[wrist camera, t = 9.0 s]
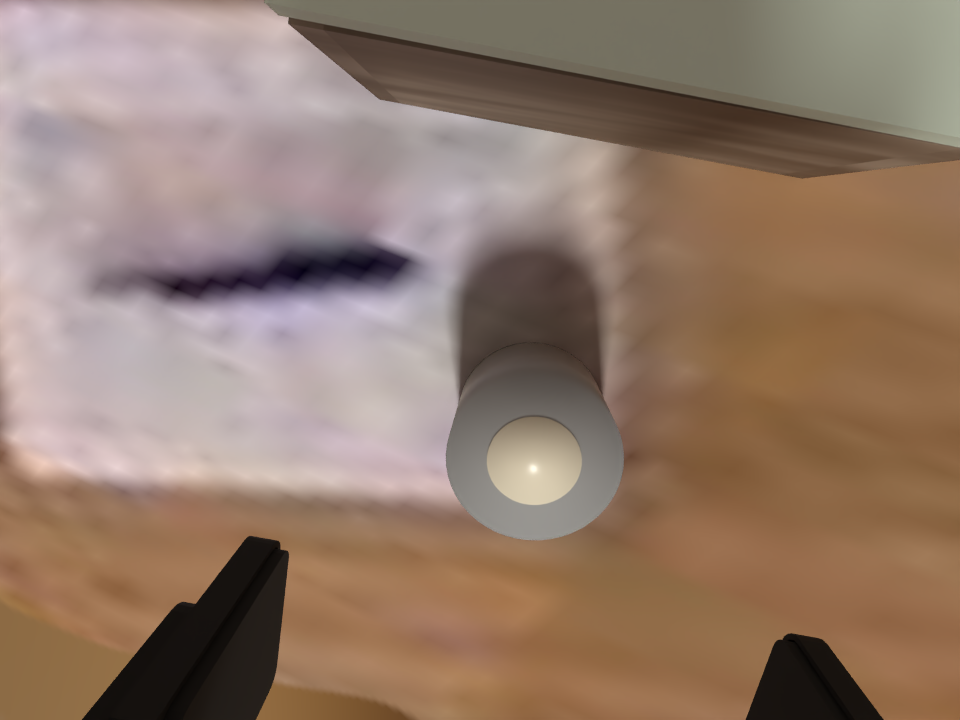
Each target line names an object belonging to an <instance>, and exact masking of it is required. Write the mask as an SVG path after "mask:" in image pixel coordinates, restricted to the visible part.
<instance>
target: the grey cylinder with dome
mask: <svg viewBox="0 0 960 720" xmlns="http://www.w3.org/2000/svg"><path fill="white" fill-rule="evenodd" d="M623 465H624V452H623V444H622V440H621V436H620V433H619V431H618V428H617V426H616V423H615V421H614V419H613V417H612V415H611V413H610V411H609V409H608V407H607V404H606V402H605V400H604V398H603V396H602V394H601V392H600V390H599V388H598V386H597V383H596V381H595V380H594V378H593V376H592V374H591V373H590V372H589V371H588V369H587V368H586V367H585V366H584V365H583V364H582V363H581V362H580V361H579V360H578V359H577V358H575V357H574V356H573V355H571V354H569V353H568V352H566V351H564V350H562V349H559V348H557V347H554V346H551V345H547V344H540V343H522V344H515V345H511V346H508V347H505V348H502V349H500V350H498V351H496V352H494V353H492V354H491V355H489V356H488V357H487V358H485V359H484V360H483V361H482V362H481V363H480V364H479V365H478V366H477V367H476V368H475V369H474V370H473V372H472V373H471V374H470V376H469V378H468V379H467V381H466V383H465V386H464V388H463V391H462V394H461V397H460V401H459V404H458V408H457V411H456V414H455V418H454V421H453V424H452V428H451V431H450V435H449V439H448V443H447V450H446V467H447V473H448V477H449V481H450V484H451V487H452V489H453V491H454V493H455V495H456V497H457V498H458V500H459V501H460V503H461V504H462V506H463V507H464V508H465V509H466V510H467V511H468V513H469V514H470V515H472V516H473V517H474V518H475V519H476V520H477V521H479V522H480V523H481V524H483V525H484V526H486V527H488V528H490V529H491V530H493V531H495V532H498V533H500V534H503V535H505V536H509V537H513V538H517V539H524V540H546V539H553V538H557V537H562V536H565V535H567V534H570V533H573V532H575V531H577V530H579V529H581V528H583V527H584V526H586V525H587V524H589V523H590V522H592V521H593V520H594V519H595V518H596V517H598V516H599V515H600V514H601V513H602V511H603V510H604V509H605V508H606V507H607V506H608V504H609V503H610V501H611V500H612V498H613V497H614V495H615V493H616V491H617V489H618V486H619V483H620V480H621V477H622V472H623Z"/></svg>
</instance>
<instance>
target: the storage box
mask: <svg viewBox="0 0 960 720" xmlns="http://www.w3.org/2000/svg"><path fill="white" fill-rule="evenodd" d="M288 24H289V25H291V26H292V27H293V28H294V29H295V30H297V31H298V32H299V33H300V34H301V35H303V36H304V37H305V38H306V39H307V40H309V41H310V42H311V43H312V44H313V45H315V46H316V47H317V48H318V49H319V50H321V51H322V52H323V53H324V54H325V55H327V56H328V57H329V58H330V59H331V60H333V61H334V62H335V63H336V64H337V65H339V66H340V67H341V68H342V69H343V70H345V71H346V72H347V73H348V74H349V75H351V76H352V77H353V78H354V79H356V80H357V81H358V82H359V83H360V84H362V85H363V86H364V87H365V88H366V89H368V90H369V91H370V92H371V93H372V94H374V95H375V96H376V97H377V98H378V99H380V100H386V101H391V102H397V103H402V104H407V105H413V106H418V107H423V108H429V109H434V110H439V111H445V112H450V113H455V114H461V115H466V116H471V117H477V118H482V119H487V120H493V121H498V122H503V123H509V124H514V125H519V126H525V127H530V128H535V129H541V130H546V131H552V132H557V133H562V134H568V135H573V136H578V137H584V138H589V139H594V140H600V141H605V142H610V143H616V144H621V145H626V146H632V147H637V148H642V149H648V150H653V151H658V152H664V153H669V154H674V155H680V156H685V157H691V158H696V159H701V160H707V161H712V162H717V163H723V164H728V165H733V166H739V167H744V168H749V169H755V170H760V171H765V172H771V173H776V174H781V175H787V176H792V177H797V178H810V177H818V176H827V175H835V174H844V173H852V172H861V171H869V170H878V169H886V168H895V167H903V166H912V165H920V164H929V163H937V162H946V161H955V160H960V147H954V146H949V145H944V144H939V143H934V142H929V141H923V140H918V139H913V138H908V137H903V136H898V135H893V134H887V133H882V132H877V131H872V130H867V129H862V128H857V127H851V126H846V125H841V124H836V123H831V122H826V121H820V120H815V119H810V118H805V117H800V116H795V115H790V114H784V113H779V112H774V111H769V110H764V109H759V108H754V107H748V106H743V105H738V104H733V103H728V102H723V101H717V100H712V99H707V98H702V97H697V96H692V95H687V94H681V93H676V92H671V91H666V90H661V89H656V88H650V87H645V86H640V85H635V84H630V83H625V82H620V81H614V80H609V79H604V78H599V77H594V76H589V75H584V74H578V73H573V72H568V71H563V70H558V69H553V68H547V67H542V66H537V65H532V64H527V63H522V62H517V61H511V60H506V59H501V58H496V57H491V56H486V55H481V54H475V53H470V52H465V51H460V50H455V49H450V48H444V47H439V46H434V45H429V44H424V43H419V42H414V41H408V40H403V39H398V38H393V37H388V36H383V35H377V34H372V33H367V32H362V31H357V30H352V29H347V28H341V27H336V26H331V25H326V24H321V23H316V22H311V21H305V20H300V19H295V18H290V17H289V21H288Z"/></svg>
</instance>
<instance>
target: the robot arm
mask: <svg viewBox="0 0 960 720" xmlns="http://www.w3.org/2000/svg"><path fill="white" fill-rule="evenodd" d="M288 560H289V553H288V551H285V550H280V542H279V541H276V540H270V539H265V538H259V537H254V536H249V537H247V538H246V539H245V540H244V542H243V543H242V544H241V546H240V547H239V548H238V550H237V551H236V552H235V554H234V555H233V556H232V557H231V559H230V560H229V561H228V563H227V564H226V565H225V567H224V568H223V569H222V570H221V572H220V573H219V574H218V576H217V577H216V578H215V580H214V581H213V582H212V583H211V585H210V586H209V587H208V589H207V590H206V591H205V593H204V594H203V595H202V597H201V598H200V599H199V600H198V602H197V603H196V604H192V603H187V602H181V603H179V604H177V605H176V606H175V607H174V608H173V609H172V610H171V611H170V612H169V614H168V615H167V616H166V617H165V619H164V620H163V621H162V622H161V623H160V625H159V626H158V627H157V628H156V630H155V631H154V632H153V633H152V634H151V636H150V637H149V638H148V639H147V641H146V642H145V643H144V644H143V645H142V647H141V648H140V649H139V650H138V652H137V653H136V654H135V655H134V657H133V658H132V659H131V660H130V661H129V663H128V664H127V665H126V666H125V668H124V669H123V670H122V671H121V672H120V674H119V675H118V676H117V677H116V679H115V680H114V681H113V682H112V684H111V685H110V686H109V687H108V688H107V690H106V691H105V692H104V693H103V695H102V696H101V697H100V698H99V699H98V701H97V702H96V703H95V704H94V706H93V707H92V708H91V709H90V710H89V712H88V713H87V714H86V715H85V717H84V718H83V719H82V720H256V718H257V716H258V714H259V712H260V710H261V708H262V706H263V703H264V701H265V699H266V697H267V695H268V693H269V691H270V688H271V686H272V683H273V680H274V677H275V673H276V668H277V660H278V651H279V642H280V633H281V624H282V614H283V605H284V596H285V587H286V578H287V569H288ZM746 720H883V718H882V717H881V716H880V714H879V713H878V712H877V710H876V709H875V708H874V706H873V705H872V704H871V702H870V701H869V700H868V698H867V697H866V696H865V694H864V693H863V692H862V690H861V689H860V688H859V686H858V685H857V684H856V682H855V681H854V679H853V678H852V677H851V675H850V674H849V673H848V671H847V670H846V669H845V667H844V666H843V665H842V663H841V662H840V661H839V659H838V658H837V657H836V655H835V654H834V653H833V651H832V650H831V649H830V647H829V646H828V645H827V644H826V643H825V642H824V641H823V640H822V639H819V638H814V637H809V636H803V635H798V634H792V633H791V634H787V635H786V636H784V638H783V640H777V641H776V642H775V644H774V646H773V648H772V651H771V654H770V656H769V659H768V662H767V664H766V667H765V670H764V672H763V675H762V678H761V680H760V683H759V686H758V688H757V691H756V694H755V696H754V699H753V702H752V704H751V707H750V710H749V712H748V715H747V718H746Z"/></svg>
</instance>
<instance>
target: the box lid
mask: <svg viewBox="0 0 960 720" xmlns="http://www.w3.org/2000/svg"><path fill="white" fill-rule="evenodd" d="M264 3H265V4H267V5H268V6H269V7H270V8H271V9H272V10H273V11H274V12H276V13H277V14H278V15H280V16H285V17H290V18H295V19H300V20H305V21H311V22H316V23H321V24H326V25H331V26H336V27H341V28H347V29H352V30H357V31H362V32H367V33H372V34H377V35H383V36H388V37H393V38H398V39H403V40H408V41H414V42H419V43H424V44H429V45H434V46H439V47H444V48H450V49H455V50H460V51H465V52H470V53H475V54H481V55H486V56H491V57H496V58H501V59H506V60H511V61H517V62H522V63H527V64H532V65H537V66H542V67H547V68H553V69H558V70H563V71H568V72H573V73H578V74H584V75H589V76H594V77H599V78H604V79H609V80H614V81H620V82H625V83H630V84H635V85H640V86H645V87H650V88H656V89H661V90H666V91H671V92H676V93H681V94H687V95H692V96H697V97H702V98H707V99H712V100H717V101H723V102H728V103H733V104H738V105H743V106H748V107H754V108H759V109H764V110H769V111H774V112H779V113H784V114H790V115H795V116H800V117H805V118H810V119H815V120H820V121H826V122H831V123H836V124H841V125H846V126H851V127H857V128H862V129H867V130H872V131H877V132H882V133H887V134H893V135H898V136H903V137H908V138H913V139H918V140H923V141H929V142H934V143H939V144H944V145H949V146H954V147H960V0H264Z"/></svg>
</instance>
